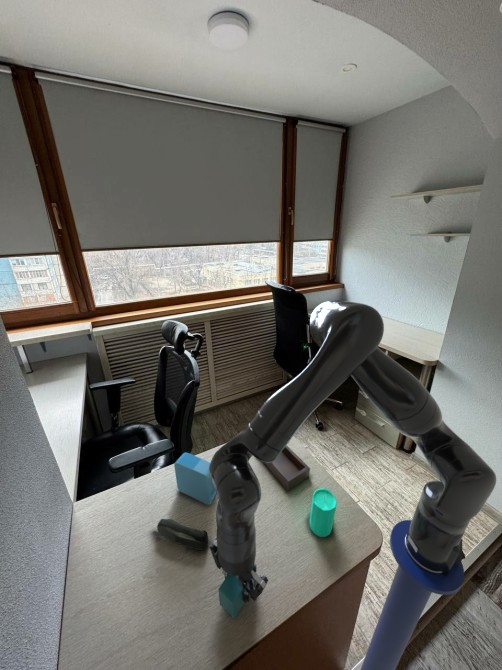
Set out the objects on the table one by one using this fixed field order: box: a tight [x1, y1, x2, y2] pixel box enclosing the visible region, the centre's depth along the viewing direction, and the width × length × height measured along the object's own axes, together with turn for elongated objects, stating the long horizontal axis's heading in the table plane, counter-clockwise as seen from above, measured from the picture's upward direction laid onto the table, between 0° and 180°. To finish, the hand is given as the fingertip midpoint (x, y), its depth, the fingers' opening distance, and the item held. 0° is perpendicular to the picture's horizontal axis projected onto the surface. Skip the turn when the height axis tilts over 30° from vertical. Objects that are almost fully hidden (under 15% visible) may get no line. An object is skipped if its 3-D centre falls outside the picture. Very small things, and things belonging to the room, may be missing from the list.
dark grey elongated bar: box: [152, 518, 209, 551], centre depth 69 cm, size 5×3×15 cm
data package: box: [173, 452, 217, 505], centre depth 79 cm, size 12×4×12 cm, turn 65°
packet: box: [218, 563, 258, 620], centre depth 58 cm, size 4×8×6 cm, turn 144°
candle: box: [309, 487, 337, 538], centre depth 71 cm, size 6×6×12 cm
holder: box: [263, 444, 311, 491], centre depth 91 cm, size 18×9×4 cm, turn 33°
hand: (238, 588), depth 58 cm, fingers closed on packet, 4 cm apart
